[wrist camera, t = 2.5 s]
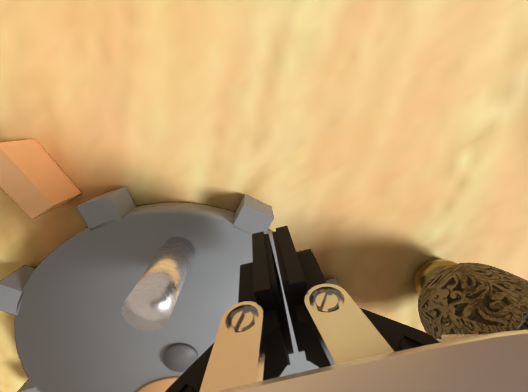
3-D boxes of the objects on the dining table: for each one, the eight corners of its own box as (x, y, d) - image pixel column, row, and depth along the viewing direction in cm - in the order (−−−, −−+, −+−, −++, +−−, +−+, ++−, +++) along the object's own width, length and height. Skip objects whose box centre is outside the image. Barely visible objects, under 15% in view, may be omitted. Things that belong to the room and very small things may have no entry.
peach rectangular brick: (81, 192, 16) (53, 205, 14) (62, 204, 16) (32, 219, 14) (34, 138, 15) (-5, 142, 13) (14, 152, 15) (-28, 158, 13)
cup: (380, 315, 21) (456, 432, 13) (393, 235, 18) (493, 319, 11) (466, 310, 21) (589, 422, 13) (489, 231, 19) (654, 310, 11)
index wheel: (312, 430, 24) (335, 550, 17) (55, 432, 22) (-27, 565, 16) (361, 201, 17) (432, 256, 10) (-10, 177, 15) (-210, 224, 9)
